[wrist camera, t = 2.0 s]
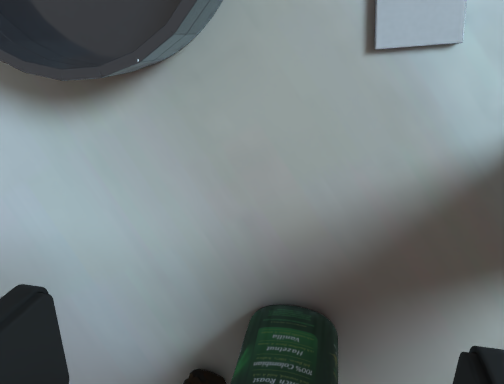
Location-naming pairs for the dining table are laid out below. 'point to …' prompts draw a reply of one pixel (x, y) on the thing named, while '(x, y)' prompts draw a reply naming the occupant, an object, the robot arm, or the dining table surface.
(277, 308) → the coffee jar
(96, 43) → the bowl
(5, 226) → the dining table surface
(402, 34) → the putty knife
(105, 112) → the dining table surface
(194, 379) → the hand tool
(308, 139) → the dining table surface
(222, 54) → the dining table surface
